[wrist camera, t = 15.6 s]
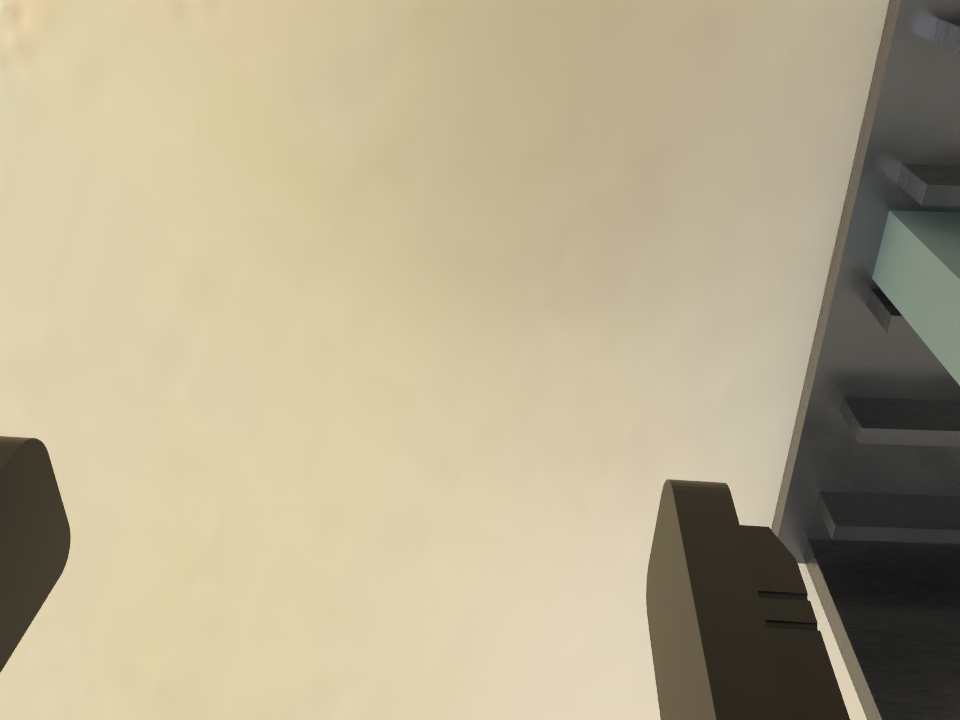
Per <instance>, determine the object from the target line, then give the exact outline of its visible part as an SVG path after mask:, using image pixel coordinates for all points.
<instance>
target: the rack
mask: <svg viewBox="0 0 960 720" xmlns="http://www.w3.org/2000/svg"><path fill="white" fill-rule="evenodd" d="M889 210H890V211H928V212H960V0H890V3H889V8H888V12H887V17H886V21H885V26H884V30H883V35H882V39H881V43H880V48H879V52H878V57H877V61H876V66H875V70H874V75H873V79H872V84H871V88H870V93H869V97H868V101H867V106H866V110H865V115H864V119H863V124H862V128H861V133H860V137H859V142H858V146H857V151H856V155H855V159H854V164H853V168H852V173H851V177H850V182H849V186H848V191H847V195H846V200H845V204H844V209H843V213H842V218H841V222H840V226H839V231H838V235H837V240H836V244H835V249H834V253H833V258H832V262H831V267H830V271H829V276H828V280H827V284H826V289H825V293H824V298H823V302H822V307H821V311H820V316H819V320H818V325H817V329H816V334H815V338H814V342H813V347H812V351H811V356H810V360H809V365H808V369H807V374H806V378H805V383H804V387H803V392H802V396H801V400H800V405H799V409H798V414H797V418H796V423H795V427H794V432H793V436H792V441H791V445H790V450H789V454H788V458H787V463H786V467H785V472H784V476H783V481H782V485H781V490H780V494H779V499H778V503H777V508H776V512H775V516H774V521H773V525H772V532H773V533H774V534H775V535H776V536H777V537H778V539H779V540H780V541H781V542H782V543H783V544H784V545H785V547H786V548H787V549H788V550H789V551H790V552H791V554H792V555H793V556H794V557H795V558H796V561H797V563H805V564H806V566H807V569H808V571H809V574H810V576H811V579H812V581H813V584H814V586H815V589H816V591H817V594H818V596H819V599H820V601H821V604H822V606H823V609H824V612H825V614H826V617H827V619H828V622H829V624H830V627H831V629H832V632H833V634H834V637H835V639H836V642H837V644H838V647H839V650H840V652H841V655H842V657H843V660H844V662H845V665H846V667H847V670H848V672H849V675H850V677H851V680H852V682H853V685H854V687H855V690H856V693H857V695H858V698H859V700H860V703H861V705H862V708H863V710H864V713H865V715H866V718H867V720H960V386H959V384H958V383H957V382H956V381H955V379H954V378H953V377H952V376H951V374H950V373H949V372H948V371H947V370H946V368H945V367H944V366H943V365H942V363H941V362H940V361H939V360H938V359H937V357H936V356H935V355H934V354H933V352H932V351H931V350H930V349H929V348H928V346H927V345H926V344H925V343H924V341H923V340H922V339H921V338H920V337H919V335H918V334H917V333H916V332H915V330H914V329H913V328H912V327H911V325H910V324H909V323H908V322H907V321H906V319H905V318H904V317H903V316H902V314H901V313H900V312H899V311H898V310H897V308H896V307H895V306H894V305H893V303H892V302H891V301H890V300H889V299H888V297H887V296H886V295H885V294H884V292H883V291H882V290H881V289H880V288H879V286H878V285H877V284H876V283H875V281H874V280H873V279H872V277H873V273H874V269H875V265H876V261H877V257H878V253H879V249H880V245H881V241H882V237H883V233H884V229H885V225H886V221H887V217H888V214H889Z"/></svg>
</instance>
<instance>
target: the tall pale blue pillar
mask: <svg viewBox="0 0 960 720" xmlns="http://www.w3.org/2000/svg"><path fill="white" fill-rule="evenodd" d="M872 279H873V280H874V281H875V283H876V284H877V285H878V286H879V288H880V289H881V290H882V291H883V292H884V294H885V295H886V296H887V297H888V299H889V300H890V301H891V302H892V303H893V305H894V306H895V307H896V308H897V310H898V311H899V312H900V313H901V314H902V316H903V317H904V318H905V319H906V321H907V322H908V323H909V324H910V325H911V327H912V328H913V329H914V330H915V332H916V333H917V334H918V335H919V337H920V338H921V339H922V340H923V341H924V343H925V344H926V345H927V346H928V348H929V349H930V350H931V351H932V352H933V354H934V355H935V356H936V357H937V359H938V360H939V361H940V362H941V363H942V365H943V366H944V367H945V368H946V370H947V371H948V372H949V373H950V374H951V376H952V377H953V378H954V379H955V381H956V382H957V383H958V384H959V386H960V212H928V211H890V210H889V214H888V217H887V221H886V225H885V229H884V233H883V237H882V241H881V245H880V249H879V253H878V257H877V261H876V265H875V269H874V273H873V277H872Z"/></svg>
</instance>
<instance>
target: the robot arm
mask: <svg viewBox="0 0 960 720" xmlns="http://www.w3.org/2000/svg"><path fill="white" fill-rule="evenodd" d="M69 549H70V527H69V523H68V519H67V516H66V513H65V509H64V506H63V502H62V499H61V495H60V492H59V489H58V485H57V482H56V478H55V475H54V471H53V468H52V464H51V461H50V458H49V454H48V451H47V449H46V447H45V445H44V444H43V443H42V442H41V441H40V440H38V439H35V438H21V437H5V436H0V672H1V671H2V669H3V668H4V666H5V664H6V663H7V661H8V659H9V658H10V656H11V655H12V653H13V651H14V650H15V648H16V647H17V645H18V643H19V642H20V640H21V639H22V637H23V635H24V634H25V632H26V630H27V629H28V627H29V626H30V624H31V622H32V621H33V619H34V618H35V616H36V614H37V613H38V611H39V610H40V608H41V606H42V605H43V603H44V601H45V600H46V598H47V597H48V595H49V593H50V592H51V590H52V589H53V587H54V585H55V584H56V582H57V581H58V579H59V577H60V576H61V574H62V572H63V570H64V567H65V565H66V562H67V558H68V554H69ZM807 595H808V593H807V590H806V587H805V584H804V581H803V579H802V576H801V573H800V570H799V567H798V564H797V561H796V558H795V557H794V556H793V555H792V554H791V552H790V551H789V550H788V549H787V548H786V547H785V545H784V544H783V543H782V542H781V541H780V540H779V539H778V537H777V536H776V535H775V534H774V533H773V532H772V530H771V529H770V528H769V527H760V526H744V525H739V521H738V518H737V514H736V510H735V507H734V503H733V499H732V496H731V492H730V489H729V487H728V485H727V484H726V483H717V482H701V481H685V480H669V479H668V480H666V481H665V483H664V486H663V490H662V495H661V500H660V506H659V511H658V516H657V522H656V527H655V533H654V538H653V543H652V549H651V554H650V560H649V565H648V573H647V590H646V601H647V616H648V624H649V632H650V640H651V647H652V655H653V663H654V670H655V678H656V686H657V693H658V701H659V709H660V717H661V720H850V718H849V715H848V713H847V710H846V707H845V704H844V701H843V698H842V695H841V692H840V689H839V686H838V683H837V680H836V677H835V674H834V671H833V668H832V665H831V662H830V659H829V656H828V653H827V650H826V647H825V644H824V641H823V638H822V635H821V632H820V631H818V630H817V620H816V617H815V614H814V611H813V608H812V605H811V602H810V601H808V600H807Z"/></svg>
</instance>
